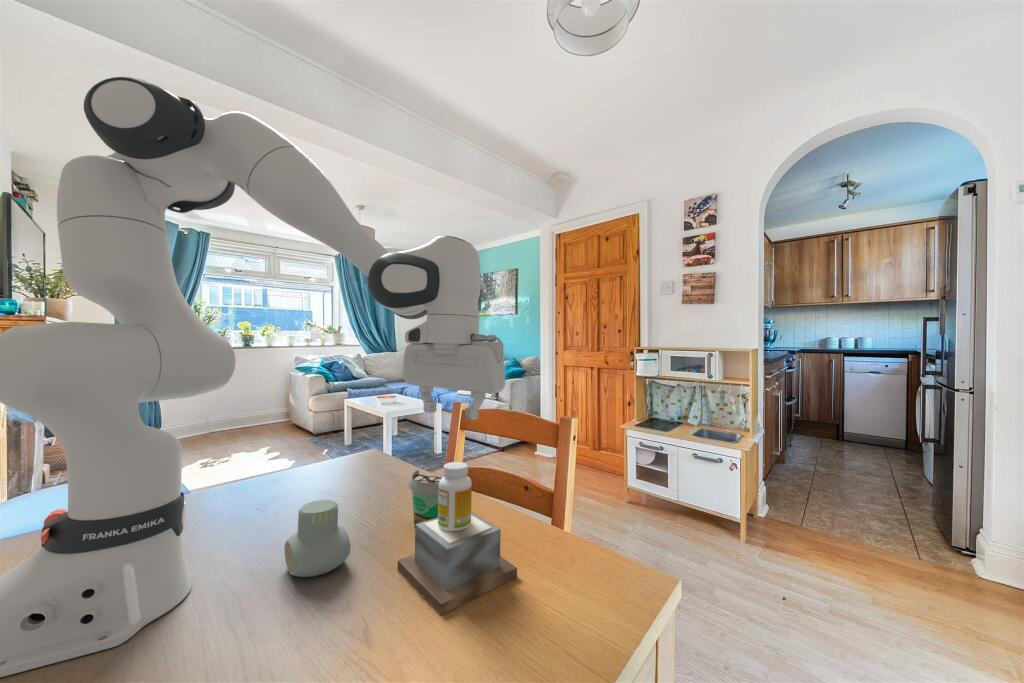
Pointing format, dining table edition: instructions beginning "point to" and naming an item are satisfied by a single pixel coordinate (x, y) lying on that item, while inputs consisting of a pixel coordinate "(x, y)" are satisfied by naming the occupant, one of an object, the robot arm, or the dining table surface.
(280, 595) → the dining table surface
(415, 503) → the food container
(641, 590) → the dining table surface
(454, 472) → the supplement bottle
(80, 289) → the robot arm
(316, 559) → the air freshener
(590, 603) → the dining table surface
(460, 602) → the pedestal
